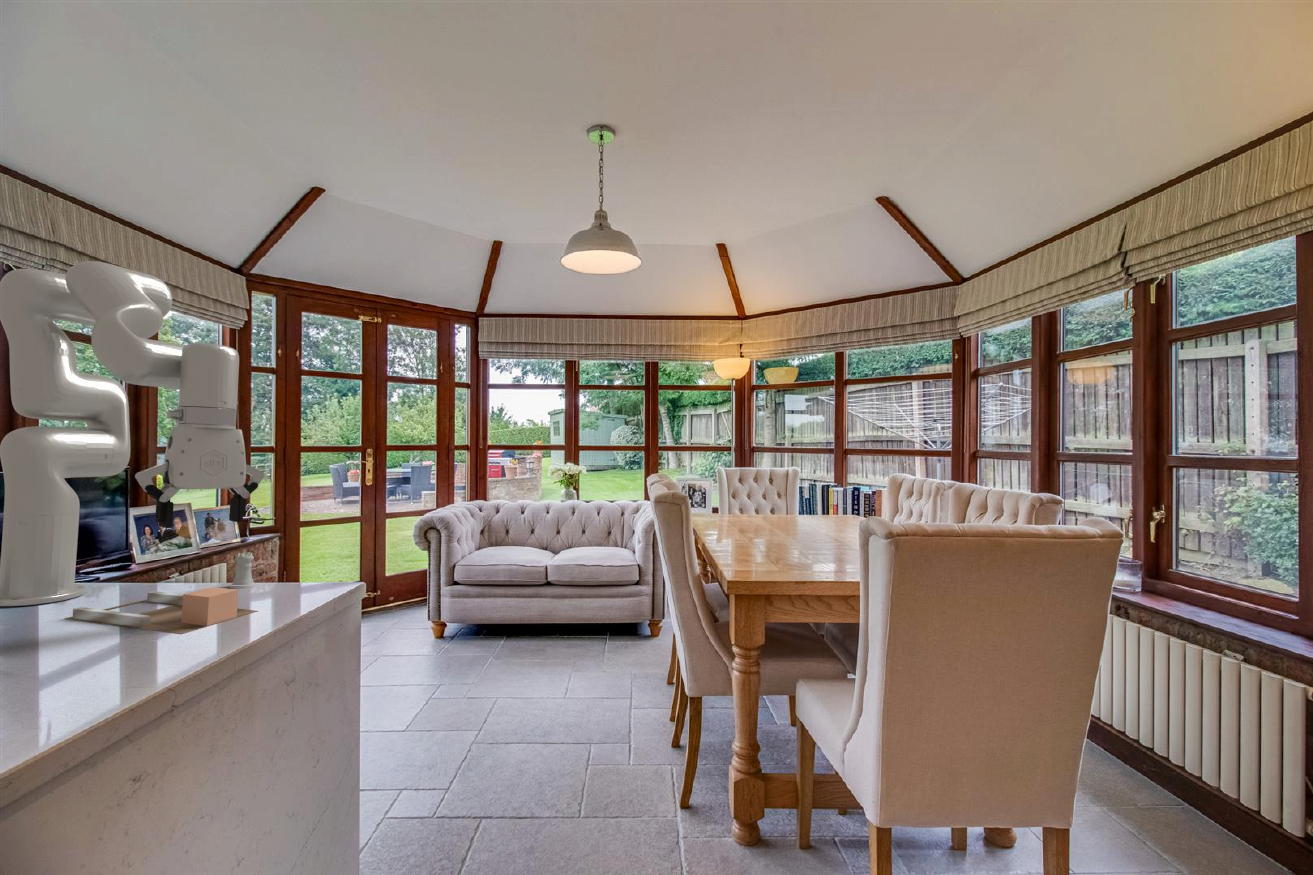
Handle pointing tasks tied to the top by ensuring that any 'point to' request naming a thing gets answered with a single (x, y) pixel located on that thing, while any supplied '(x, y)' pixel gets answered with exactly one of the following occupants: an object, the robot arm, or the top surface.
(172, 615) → the tan rectangular frame
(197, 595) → the block
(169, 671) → the top surface
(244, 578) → the rook chess piece
